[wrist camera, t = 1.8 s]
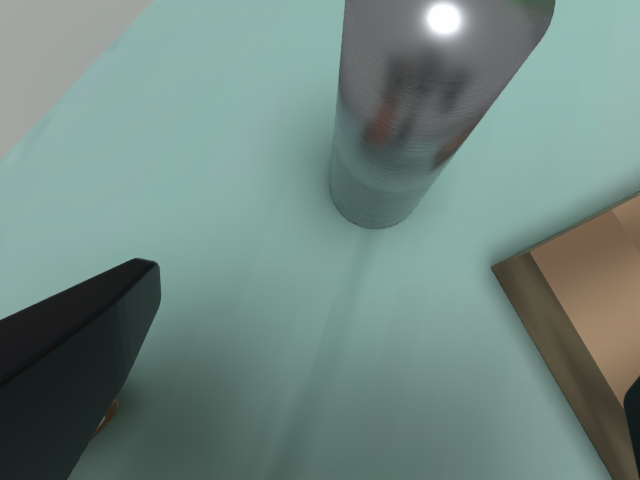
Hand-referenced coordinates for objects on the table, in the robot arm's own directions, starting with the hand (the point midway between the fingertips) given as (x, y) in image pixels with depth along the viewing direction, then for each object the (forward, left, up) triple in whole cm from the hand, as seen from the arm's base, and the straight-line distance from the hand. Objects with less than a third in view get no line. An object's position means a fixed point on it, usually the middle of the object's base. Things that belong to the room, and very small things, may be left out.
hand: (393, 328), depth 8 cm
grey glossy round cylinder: (+6, -4, -13) cm, 15 cm away
